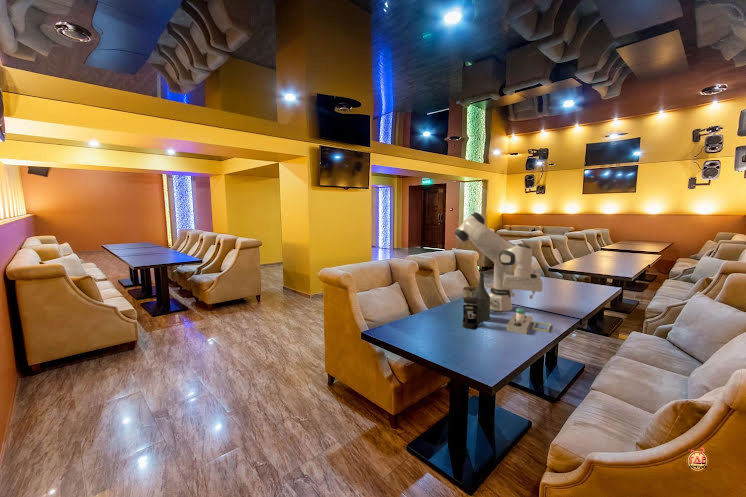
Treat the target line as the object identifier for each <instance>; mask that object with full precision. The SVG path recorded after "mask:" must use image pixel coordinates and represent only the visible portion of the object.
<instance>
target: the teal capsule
mask: <svg viewBox="0 0 746 497" xmlns="http://www.w3.org/2000/svg"><path fill="white" fill-rule="evenodd" d="M515 312H516V313H515V314H516V322H523V323H525V315H526V309H525V308H521V307H520V308H518V307H517V308H516V309H515Z"/></svg>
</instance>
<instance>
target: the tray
mask: <svg viewBox="0 0 746 497" xmlns="http://www.w3.org/2000/svg"><path fill="white" fill-rule="evenodd" d="M536 325H541V326H548V327H547V329H545V328H538V327H536ZM551 326H552V325H551V323H549V322H540V321H534V322H533V325H532V326H531V330H532V331H537V332H538V331H539V332H542V333H543V332H544V333H549V332H550V328H551Z"/></svg>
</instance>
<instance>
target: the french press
mask: <svg viewBox="0 0 746 497" xmlns="http://www.w3.org/2000/svg"><path fill="white" fill-rule="evenodd" d="M467 289H468V290H470V292H472V290H474V288H467ZM462 299H463V303H464V305H462V309H463V311H462V312H463V315H462V316H463V317H462V327H463V328H464V329H466V330H468V329H469V330H476V329H478V328H479V325H481V324H482V323H481V309H479V307H478V306H476V305H471V304H477V303H478V300H479V299H478V298H476V297H471V296H470V297H464V296H463V297H462ZM465 303H467V305H466V304H465ZM467 307H470V309H468V308H467ZM471 307H473V309H471ZM478 310H479V323H478ZM468 311H470V313H469V312H468ZM471 311H473V314H472V313H471Z"/></svg>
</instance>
